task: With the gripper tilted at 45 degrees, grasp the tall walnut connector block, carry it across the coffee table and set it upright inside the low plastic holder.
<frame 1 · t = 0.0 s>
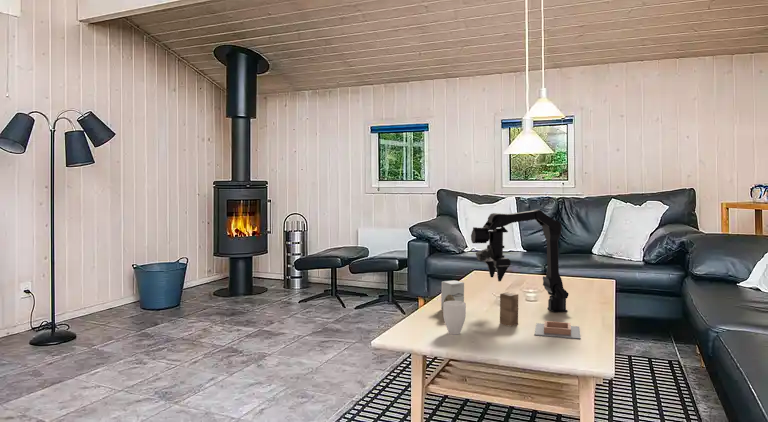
hand: (495, 279, 231), 15 cm above the table, tool pointing down, fingers open, 9 cm apart
connector block: (508, 323, 215), on the table
mug: (455, 332, 204), on the table
decorative egg: (449, 318, 223), on the table
holder: (557, 331, 204), on the table
supplement box: (452, 310, 237), on the table
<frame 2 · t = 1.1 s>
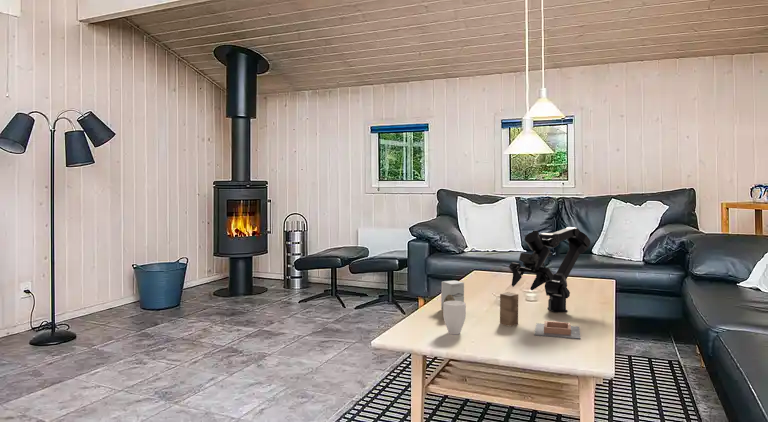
hand: (521, 287, 219), 13 cm above the table, tool tilted 45°, fingers open, 9 cm apart
nothing on the table moved.
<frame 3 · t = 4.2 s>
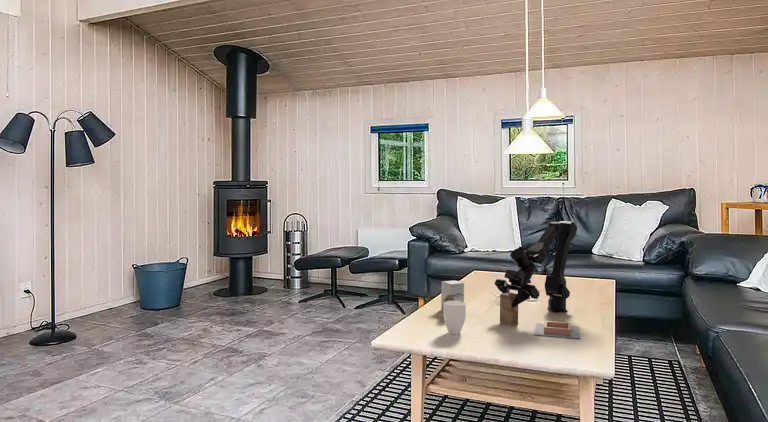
hand: (506, 305, 213), 8 cm above the table, tool tilted 45°, fingers closed on connector block, 5 cm apart
connector block: (508, 323, 215), on the table, touching gripper
everything else where it was.
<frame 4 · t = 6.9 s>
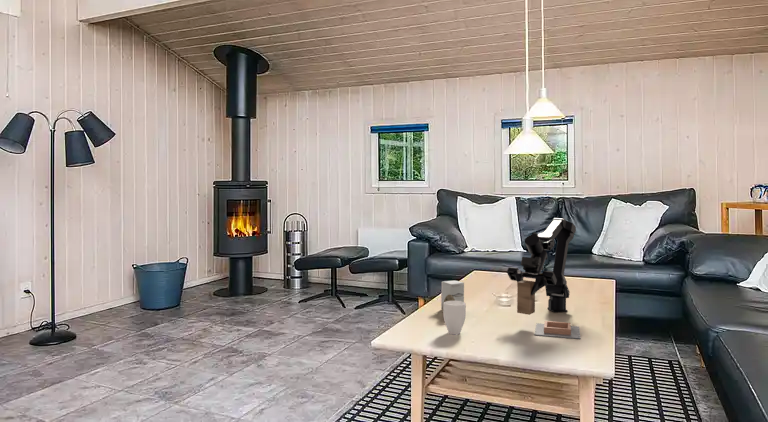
hand: (524, 293, 208), 13 cm above the table, tool tilted 45°, fingers closed on connector block, 5 cm apart
connector block: (526, 312, 209), point 6 cm above the table, touching gripper
everything else where it was.
when the fingers open (9 cm above the table, at t = 9.6 s): connector block drops 1 cm, resting on holder.
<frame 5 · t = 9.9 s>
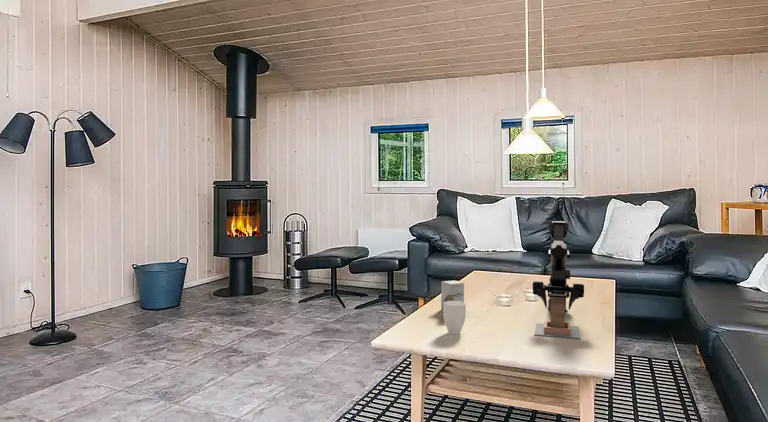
hand: (557, 308, 202), 9 cm above the table, tool tilted 45°, fingers open, 8 cm apart
connector block: (557, 330, 204), resting on holder
everything else where it was.
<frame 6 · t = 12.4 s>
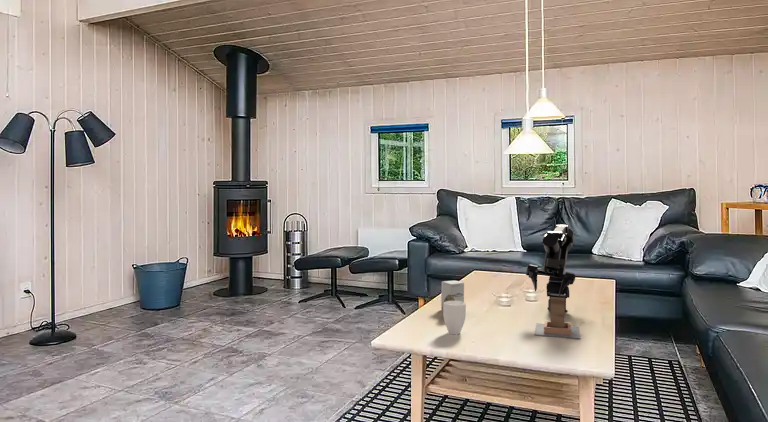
hand: (547, 293, 214), 12 cm above the table, tool tilted 35°, fingers open, 9 cm apart
nothing on the table moved.
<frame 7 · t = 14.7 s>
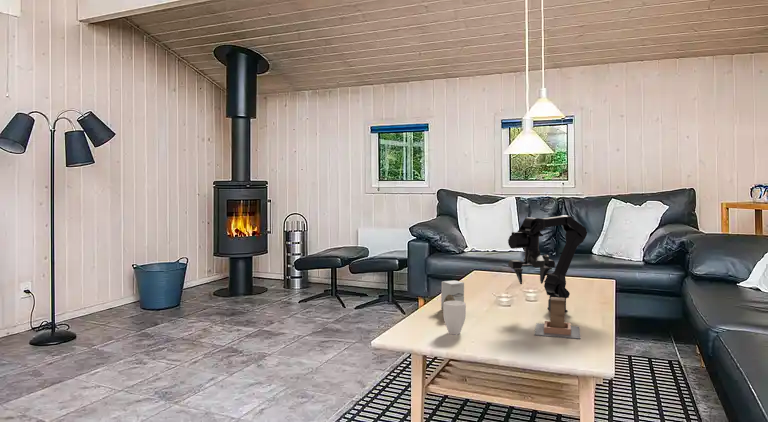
hand: (531, 283, 229), 13 cm above the table, tool pointing down, fingers open, 9 cm apart
nothing on the table moved.
at the end: connector block 0.0 cm off-centre on the holder, point 0.4 cm above the holder's base; connector block tilted 0°; the gripper is holding nothing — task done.
